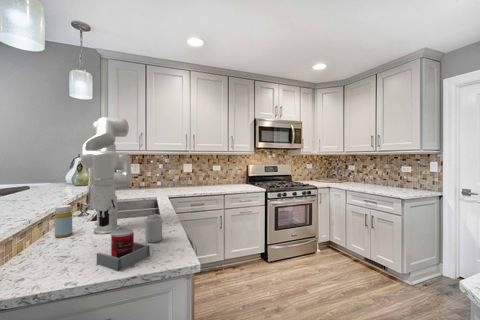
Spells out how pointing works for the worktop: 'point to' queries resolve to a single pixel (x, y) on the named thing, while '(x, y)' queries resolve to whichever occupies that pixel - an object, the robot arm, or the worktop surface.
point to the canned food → (122, 242)
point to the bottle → (63, 221)
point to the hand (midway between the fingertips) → (104, 225)
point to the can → (153, 228)
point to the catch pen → (124, 257)
